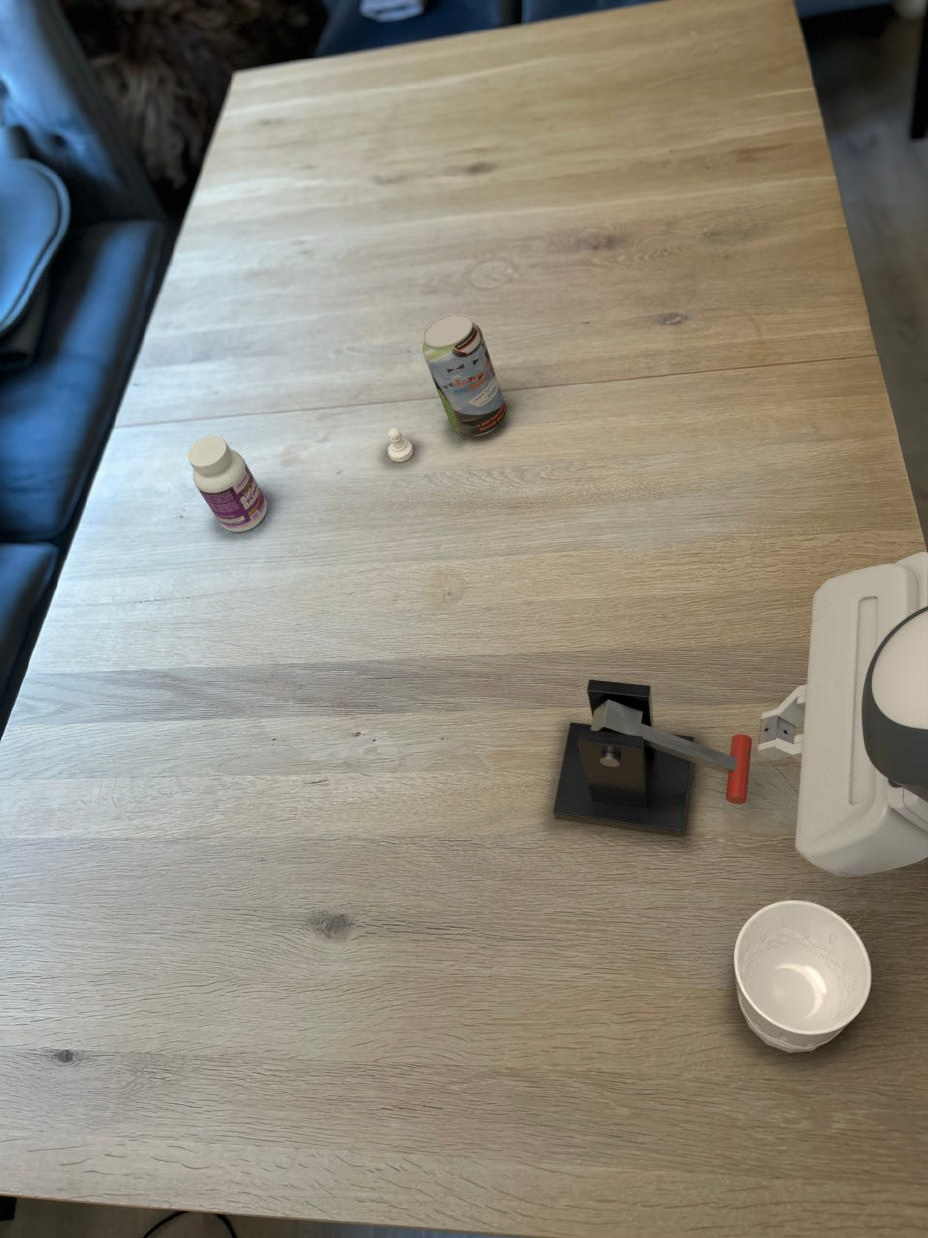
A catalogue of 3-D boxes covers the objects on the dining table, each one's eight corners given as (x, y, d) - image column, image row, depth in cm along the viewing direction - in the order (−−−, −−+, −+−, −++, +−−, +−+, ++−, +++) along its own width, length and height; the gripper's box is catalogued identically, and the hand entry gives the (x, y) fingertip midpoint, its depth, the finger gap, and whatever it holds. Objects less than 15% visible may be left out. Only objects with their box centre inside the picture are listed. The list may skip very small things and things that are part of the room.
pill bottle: (267, 529, 101) (231, 466, 93) (218, 538, 102) (178, 476, 94) (270, 489, 104) (234, 425, 96) (222, 498, 105) (183, 435, 97)
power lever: (741, 746, 75) (759, 736, 73) (735, 808, 72) (754, 799, 70) (596, 693, 73) (610, 681, 71) (585, 755, 70) (600, 744, 68)
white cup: (852, 1071, 65) (874, 1044, 57) (728, 1053, 67) (731, 1024, 59) (848, 950, 69) (868, 907, 61) (731, 936, 71) (736, 893, 63)
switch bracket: (694, 743, 80) (693, 670, 70) (682, 837, 76) (680, 775, 66) (571, 728, 83) (554, 657, 73) (554, 818, 79) (533, 756, 69)
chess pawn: (410, 463, 102) (402, 439, 100) (387, 462, 103) (378, 439, 100) (416, 444, 104) (407, 420, 101) (392, 443, 104) (384, 420, 101)
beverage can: (482, 453, 101) (458, 365, 91) (431, 425, 105) (403, 337, 95) (522, 414, 103) (502, 324, 93) (470, 388, 107) (446, 298, 97)
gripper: (916, 519, 62) (747, 592, 72) (912, 831, 52) (716, 861, 62) (978, 566, 64) (806, 630, 75) (986, 873, 54) (785, 895, 65)
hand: (765, 737), depth 69 cm, fingers closed
